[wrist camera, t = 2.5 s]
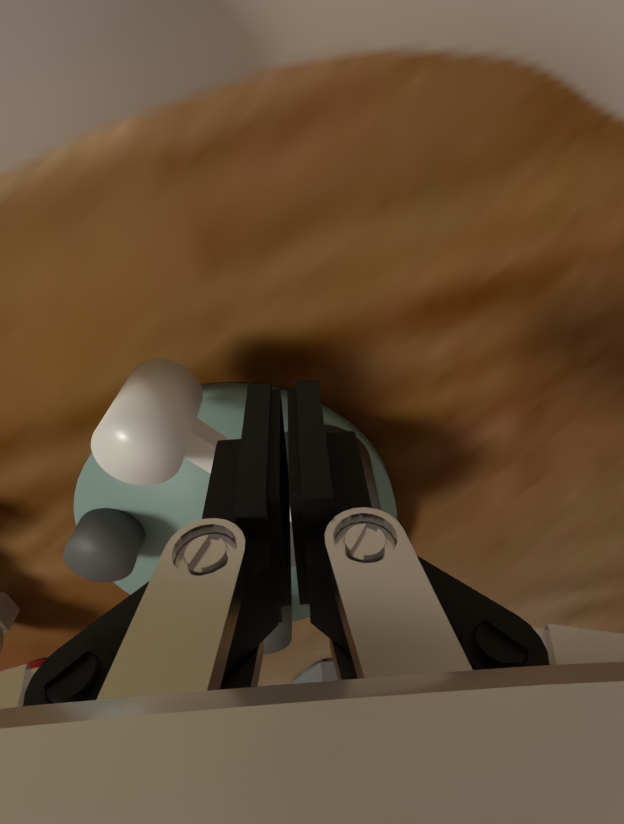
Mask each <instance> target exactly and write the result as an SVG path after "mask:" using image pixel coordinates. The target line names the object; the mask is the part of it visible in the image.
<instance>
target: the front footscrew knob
mask: <svg viewBox="0 0 624 824" xmlns="http://www.w3.org/2000/svg"><path fill="white" fill-rule="evenodd" d="M202 399H203V392H202V387H201V385H200V382H199V381H198V379H197V377H196V376H195V375H194V374H193V373H192V372H191V371H190V370H189V369H188V368H186V367H185V366H183V365H181V364H179V363H177V362H174V361H171V360H165V359H154V360H149V361H146V362H143V363H142V364H140V365H139V366H137V367H136V368H135V369H134V370H133V372H132V373H131V375H130V376H129V378H128V379H127V381H126V382H125V384H124V386H123V387H122V389H121V390H120V392H119V394H118V395H117V397H116V398H115V400H114V401H113V403H112V405H111V406H110V408H109V409H108V411H107V412H106V414H105V416H104V417H103V419H102V420H101V422H100V423H99V425H98V427H97V428H96V430H95V431H94V433H93V436H92V439H91V449H92V453H93V456H94V458H95V460H96V461H97V463H98V464H99V465H100V467H101V468H102V469H103V470H104V471H105V472H107V473H108V474H109V475H111V476H112V477H114V478H116V479H118V480H120V481H122V482H125V483H128V484H132V485H139V486H151V485H157V484H160V483H163V482H166V481H168V480H169V479H171V478H172V477H173V476H174V475H176V473H177V472H178V471H179V469H180V467H181V464H182V461H183V458H186V459H187V460H189V461H190V462H192V463H194V464H195V465H197V466H199V467H200V468H202V469H204V470H205V471H207V472H208V473H210V474H211V469H212V464H213V459H214V453H215V448H216V444H217V441H218V440H230V439H228V438H227V437H225V436H224V435H222V434H221V433H219V432H218V431H216V430H215V429H213V428H212V427H210V426H209V425H207V424H206V423H204V422H203V421H201V420H200V419H198V418H197V416H198V413H199V410H200V407H201V404H202ZM324 427H325V433H332V432H347V430H345V429H342V428H339V427H336V426H332V425H325V424H324ZM356 438H357V437H356ZM285 441H286V452H287V462H288V472H289V455H288V431H287V432H285ZM357 442H358V447H359V451H360V456H361V460H362V465H363V469H364V474H365V478H366V483H367V487H368V492H369V496H370V500H371V505H372V508H373V509H378V510H381V505H380V501H379V496H378V491H377V486H376V482H375V477H374V472H373V468H372V463H371V458H370V455H369V452H368V450H367V448H366V447H365V445H364V444H363V443H362V441H361V440H360V439H359V438H357ZM381 511H382V510H381ZM290 539H291V566H294V567H296V563H295V553H294V543H293V532H292V522H291V512H290Z"/></svg>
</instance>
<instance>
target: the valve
mask: <svg viewBox="0 0 624 824" xmlns="http://www.w3.org/2000/svg"><path fill="white" fill-rule="evenodd" d="M19 612H20V609H19V607H18V606H17V605H16V604H15V603H14V601H13V600H12V599H11V598H10V597H9V596H8V595H7V594H6V593H3V592H0V653H1V651H2V647H3V640H4V636H3V635H4V634H5V633H7V632H8V631H9V630H10V628H11V626H12V625H13V623H14V621H15V619H16V617H17V616H18V614H19Z"/></svg>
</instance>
